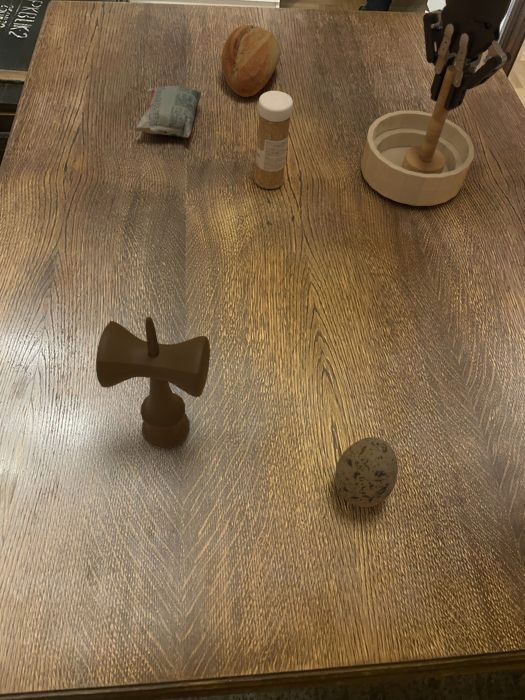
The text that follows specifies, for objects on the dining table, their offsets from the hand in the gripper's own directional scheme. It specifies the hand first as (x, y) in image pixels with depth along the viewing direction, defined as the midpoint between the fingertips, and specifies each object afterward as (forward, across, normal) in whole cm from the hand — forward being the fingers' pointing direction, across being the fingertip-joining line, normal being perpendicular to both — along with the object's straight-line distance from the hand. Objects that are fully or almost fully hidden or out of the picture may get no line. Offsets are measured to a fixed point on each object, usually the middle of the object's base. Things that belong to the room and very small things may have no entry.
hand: (443, 102), depth 83 cm
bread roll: (+12, +35, +8) cm, 38 cm away
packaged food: (+12, +31, +27) cm, 42 cm away
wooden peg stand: (+11, 0, 0) cm, 11 cm away
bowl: (+12, +1, +1) cm, 12 cm away
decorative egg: (+12, -34, +41) cm, 55 cm away
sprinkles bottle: (+12, +11, +21) cm, 27 cm away
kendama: (+12, -17, +54) cm, 58 cm away
